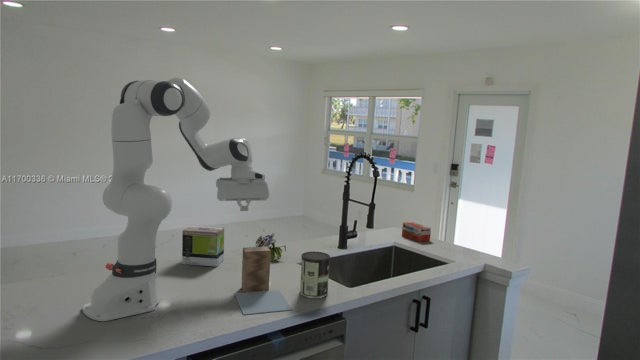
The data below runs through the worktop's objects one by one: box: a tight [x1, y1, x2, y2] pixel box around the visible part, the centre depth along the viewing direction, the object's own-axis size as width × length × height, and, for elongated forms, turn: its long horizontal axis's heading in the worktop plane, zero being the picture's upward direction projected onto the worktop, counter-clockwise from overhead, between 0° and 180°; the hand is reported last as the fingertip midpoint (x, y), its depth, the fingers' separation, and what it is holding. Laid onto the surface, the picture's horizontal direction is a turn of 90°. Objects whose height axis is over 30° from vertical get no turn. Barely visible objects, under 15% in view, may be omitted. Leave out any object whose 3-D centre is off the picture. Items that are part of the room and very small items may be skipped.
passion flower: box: [255, 232, 287, 263], centre depth 196 cm, size 13×12×14 cm
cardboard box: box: [241, 246, 271, 293], centre depth 158 cm, size 9×5×15 cm, turn 110°
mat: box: [234, 289, 293, 316], centre depth 147 cm, size 17×16×1 cm
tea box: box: [181, 225, 225, 267], centre depth 184 cm, size 15×10×15 cm, turn 84°
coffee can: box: [299, 251, 331, 299], centre depth 157 cm, size 10×10×14 cm
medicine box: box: [401, 221, 432, 243], centre depth 246 cm, size 15×8×8 cm, turn 32°
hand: (244, 210), depth 169 cm, fingers closed
